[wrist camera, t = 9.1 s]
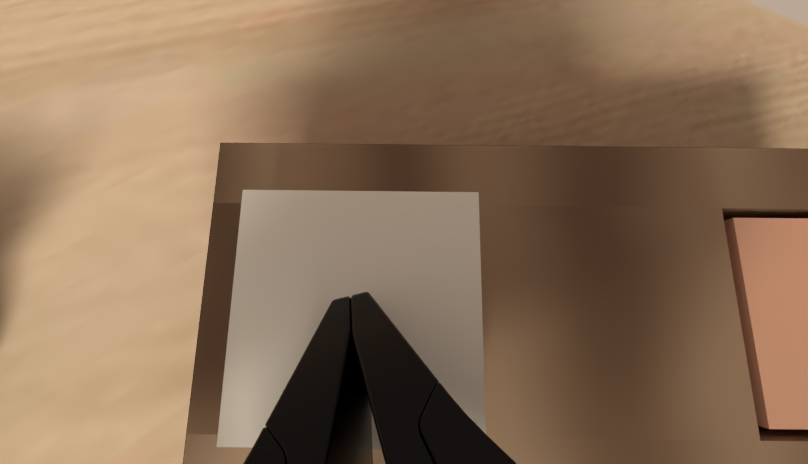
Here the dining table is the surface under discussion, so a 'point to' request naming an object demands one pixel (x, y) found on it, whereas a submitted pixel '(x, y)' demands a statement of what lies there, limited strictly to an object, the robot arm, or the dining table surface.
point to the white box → (351, 290)
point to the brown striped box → (561, 290)
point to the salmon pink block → (773, 314)
